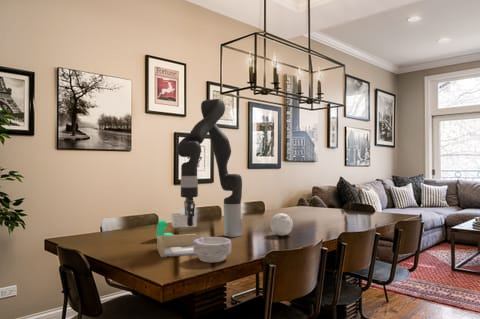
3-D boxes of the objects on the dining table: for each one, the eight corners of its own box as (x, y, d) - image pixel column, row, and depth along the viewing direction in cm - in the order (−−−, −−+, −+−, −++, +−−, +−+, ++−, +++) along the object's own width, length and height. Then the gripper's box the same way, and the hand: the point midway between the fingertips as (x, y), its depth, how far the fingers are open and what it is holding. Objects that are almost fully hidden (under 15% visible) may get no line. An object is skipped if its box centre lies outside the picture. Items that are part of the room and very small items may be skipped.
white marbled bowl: (232, 264, 142) (232, 243, 143) (192, 265, 141) (192, 244, 141) (230, 254, 158) (230, 236, 158) (194, 255, 156) (194, 236, 156)
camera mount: (176, 241, 186) (176, 221, 186) (161, 243, 183) (161, 222, 183) (170, 237, 197) (170, 218, 197) (156, 238, 194) (156, 219, 194)
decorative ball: (277, 238, 192) (277, 215, 193) (266, 234, 203) (266, 212, 204) (297, 236, 197) (296, 214, 198) (285, 232, 208) (285, 211, 209)
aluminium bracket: (193, 223, 171) (193, 212, 171) (196, 226, 163) (196, 214, 163) (171, 224, 168) (171, 213, 168) (173, 227, 160) (173, 215, 160)
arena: (196, 246, 175) (196, 233, 175) (203, 253, 160) (203, 240, 160) (157, 248, 169) (157, 236, 169) (160, 257, 154) (160, 243, 154)
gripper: (200, 186, 159) (201, 227, 158) (194, 185, 172) (194, 222, 172) (183, 187, 156) (183, 228, 156) (178, 185, 170) (178, 223, 169)
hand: (189, 225), depth 164 cm, fingers closed on aluminium bracket, 3 cm apart
